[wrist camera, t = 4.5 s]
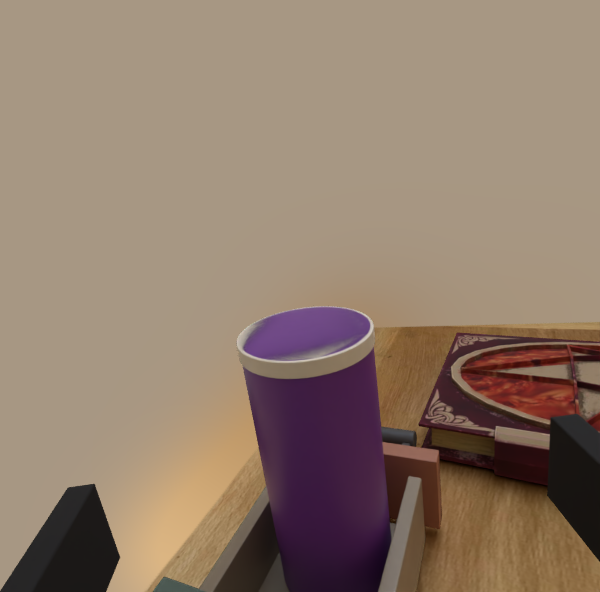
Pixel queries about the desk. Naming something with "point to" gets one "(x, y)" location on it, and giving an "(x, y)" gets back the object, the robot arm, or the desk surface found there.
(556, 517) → the desk surface
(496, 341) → the book
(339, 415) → the tube
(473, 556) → the desk surface
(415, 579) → the drawer
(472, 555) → the desk surface
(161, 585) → the cabinet
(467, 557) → the desk surface
